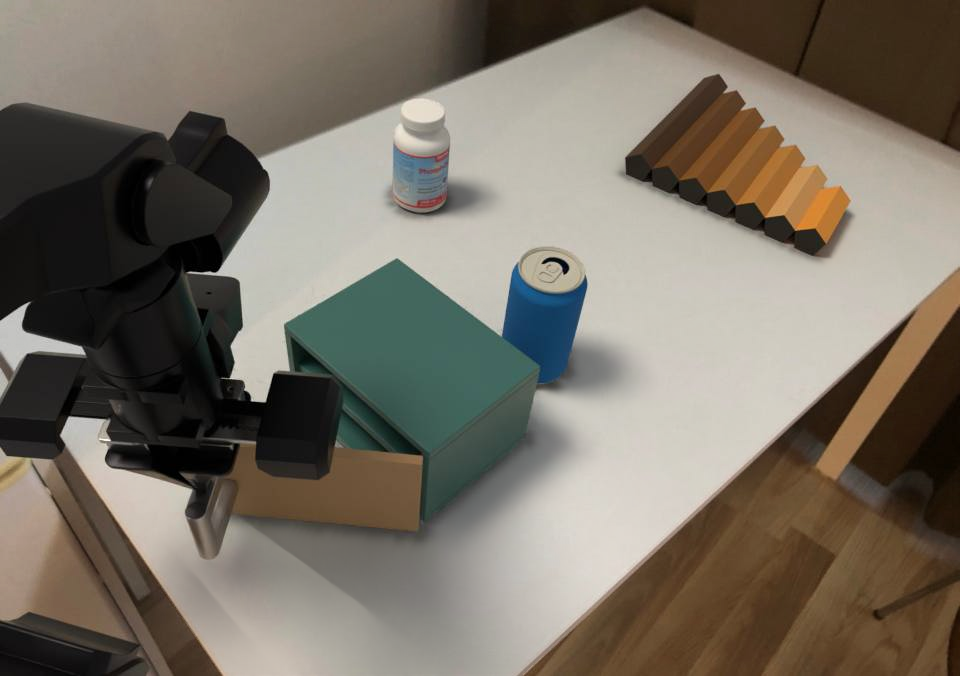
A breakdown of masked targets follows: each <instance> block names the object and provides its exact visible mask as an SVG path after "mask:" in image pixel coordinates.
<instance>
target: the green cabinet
mask: <svg viewBox="0 0 960 676" xmlns="http://www.w3.org/2000/svg"><path fill="white" fill-rule="evenodd" d="M283 329H284V338H285V346H286V353H287V360H288V369H289V371H293V372H305V373H317V374H330V375H334V376H335V377H336V378H337V379H338V381H339V382H340V383H341V385H342V390H343V400H344V401H343V406H342V411H341V417H340V422H339V427H338V432H337V437H336V442H338V443H339V444H340V445H341V446H342V448H350V449H360V450H370V451H380V452H390V453H399V454H409V455H419V456H423V468H422V483H421V499H420V515H419V520H421V521H422V522H423V523H426V522H428V520H430V519H431V518H433V516H435V515H436V514H437V513H438V512H439V511H441V510H443V508H444V507H445V506H446V505H447V504H449V503H450V502H451V501H453V500H454V499H455V498H456V497H458V496H459V494H460V493H462V492H463V491H464V490H465V489H467V488H468V487H469V486H470V485H471V484H473V482H475V481H476V480H477V479H478V478H480V477H481V476H482V475H483V474H484V473H486V472H487V471H488V470H489V469H491V467H493V466H494V465H495V464H496V463H498V462H499V461H500V460H501V459H502V458H503V457H504V456H505V455H507V454H508V453H509V452H510V451H512V450H513V449H515V447H516V446H517V445H519V444H520V443H521V442H522V441H524V439H526V435H527V431H528V426H529V421H530V418H531V412H532V407H533V404H534V400H535V399H534V398H535V394H536V389H537V385H538V384H537V381H538V377H539V372H540V365H538V364H537V363H536V362H534V361H533V360H532V359H530V358H529V357H528V356H526V355H525V354H524V353H522V352H521V351H520V350H518V349H517V348H516V347H514V346H513V345H512V344H510V343H509V342H508V341H506V340H505V339H504V338H502V335H500V334H499V333H497V332H496V331H494V330H493V329H492V328H490V327H489V326H488V325H486V324H485V323H484V322H483V321H481V320H480V319H479V318H478V317H476V316H475V315H473V314H472V313H471V312H469V311H468V310H467V309H465V308H464V307H463V306H461V305H460V304H459V303H458V302H456V301H455V300H453V299H452V298H451V297H450V296H448V295H447V294H446V293H444V292H443V291H442V290H440V289H439V288H438V287H437V286H435V285H434V284H432V283H431V282H429V281H428V280H427V279H426V278H424V277H423V276H422V275H420V274H419V273H417V272H416V271H415V270H414V269H413V268H411V267H410V266H408V265H407V264H406V263H404V262H403V261H402V260H401V259H399V257H396V258H394V259H393V260H391V261H389V262H387V263H386V264H384V265H383V266H381V267H379V268H377V269H376V270H374V271H371V272H370V273H369V274H367V275H365V276H364V277H362V278H360V279H359V280H357V281H355V282H353V283H352V284H350V285H348V286H346V287H345V288H342V289H341V290H339V291H338V292H336V293H335V294H333V295H331V296H329V297H327V298H326V299H324V300H322V301H321V302H319V303H317V304H316V305H315V306H313V307H311V308H309V309H307V310H306V311H303V312H302V313H299V315H297V316H295V317H293V318H291V319H290V320H288V321H287V322H285V323H283Z"/></svg>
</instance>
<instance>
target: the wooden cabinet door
mask: <svg viewBox="0 0 960 676" xmlns="http://www.w3.org/2000/svg"><path fill="white" fill-rule="evenodd" d="M255 452H256V445H255V444H242V443H241V444H240V448H239V451H238V455H237V458H236V462H235V466H234V469H233V471H232V472H231V474H229V475H228V476H225V477H213V478H212V479H211V480H210V483H209V487H208V490H207V491H201V490H200V491H197V490H192V489H191V492H190V496H189V498H188V500H187V503H186V506H185V509H184V517H185V519H186V522H187V524H188V528H189V530H190V533H191V536H192V538H193V541H194V544H195V547H196V550H197V552H198V555H199V557H200V558H201V559H203V560H204V561H211V560H213V559H215V558H216V557H218V556H219V554H220V552H221V548H222V545H223V542H224V539H225V535H226V533H227V529H228V526H229V522H230V519H231V516H232V514H235V515H236V514H237V515H245V516H255V517H265V518H277V519H286V520H287V519H288V520H295V521H296V520H297V521H307V522H318V523H326V524H327V523H328V524H336V525H337V524H338V525H347V526H358V527H368V528H379V529H388V530H399V531H407V532H409V531H410V532H418V531H419V527H420V518H419V515H420V499H421V483H422V468H423V456H419V455H409V454H399V453H390V452H380V451H370V450H360V449H350V448H345V447H339V446H335V448H334V453H333V458H332V463H331V469H330V473H328V474H327V475H325V476H324V477H323V478H321V479H320V480H307V479H294V478H281V477H273V476H271V475H269V474H267V473H265V472H263V471H261V470H259V469H258V468H257V464H256V461H255Z"/></svg>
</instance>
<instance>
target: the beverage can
mask: <svg viewBox="0 0 960 676" xmlns="http://www.w3.org/2000/svg"><path fill="white" fill-rule="evenodd" d="M588 285H589V284H588V278H587V275H586V268H585V265H584V263H583V262H582V260H581V259H580V258H579V257H578V256H577V255H576V254H574V253H573V252H571V251H569V250H567V249H565V248H561V247H559V246H558V247H557V246H551V245H542V246H536V247H533V248H530V249H528V250H527V251H525V252H524V253H523V254H522V255H521V257H520V258H519V261H518V262H517V263H516V264H515V265H514V267H513V268H512V271H511V276H510V282H509V287H508V295H507V301H506V307H505V314H504V318H503V319H504V320H503V324H502V325H503V326H502V332H501V337H502V338H504V339H505V340H506V341H508V342H509V343H510V344H512V345H513V346H514V347H516V348H517V349H518V350H520V351H521V352H522V353H524V354H525V355H526V356H528V357H529V358H530V359H532V360H533V361H534V362H536V363H537V364H538V365H540V372H539V377H538V381H537V385H543V384H544V385H545V384H548V383H552V382H554V381H556V380H558V379H559V378H560V377H562V375H564V373H565V372H566V370H567V368H568V364H569V361H570V357H571V353H572V349H573V345H574V341H575V337H576V334H577V330H578V326H579V322H580V319H581V314H582V310H583V306H584V302H585V299H586V295H587V291H588Z"/></svg>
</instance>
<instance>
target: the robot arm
mask: <svg viewBox="0 0 960 676" xmlns="http://www.w3.org/2000/svg"><path fill="white" fill-rule="evenodd" d="M270 191H271V179H270V175H269V172H268V171H267V169H265V168H264V167H263V165H262V163H261V161H260V160H259V159H258V158H257V156H256V155H255V154H254V153H253V152H252V151H251V150H250V149H249V148H248V147H247V146H246V145H245V144H244V143H242V142H240V141H239V140H237V139H236V138H235V137H233V136H232V135H230V134H229V133H228V128H227V123H226V119H225V118H223V117H220V116H215V115H212V114H206V113H201V112H198V111H193V110H188V111H187V113H186V115H184V116H183V118H182V119H180V121H179V122H178V124H177V126H176V128H175V130H174V131H173V133H172V135H171V136H170V137H169V138H168V139H167V136H166V135H165V133H163V132H160V131H156V130H150V129H146V128H142V127H137V126H133V125H129V124H124V123H120V122H116V121H111V120H106V119H102V118H97V117H93V116H88V115H83V114H81V113H75V112H71V111H67V110H62V109H57V108H53V107H49V106H44V105H41V104H35V103H31V102H25V101H24V102H15V103H12V104H9V105H7V106H5V107H4V108H2V109H0V322H1V321H3V320H4V319H6V318H7V317H8V316H9V315H11V314H12V313H14V312H15V311H18V309H20V308H21V307H23V306H25V305H26V304H27V306H25V307H26V308H25V310H24V316H23V319H22V322H21V329H22V331H23V332H25V333H26V334H31V335H33V336H38V337H42V338H46V339H50V340H54V341H58V342H61V343H65V344H70V345H73V346H76V347H81V348H82V350H83V352H84V354H82V353H80V354H79V353H68V352H57V351H55V352H54V351H45V350H37V351H32V352H27V353H26V354H25V355H24V356H23V357H22V358H21V359H20V360H19V362H18V363H17V366H16V367H15V369H14V371H13V373H12V375H11V377H10V379H9V380H8V382H7V384H6V386H5V388H4V390H3V392H2V393H1V396H0V449H1V451H2V452H3V453H4V455H5V456H6V457H12V458H23V459H24V458H25V459H39V460H49V461H50V460H51V461H53V460H54V459H56V458H58V457H59V456H60V455H62V454H63V452H64V449H65V447H66V443H65V441H64V439H63V438H62V436H61V435H62V433H63V430H64V429H65V426H66V424H67V423H68V420H69V418H81V419H95V420H104V421H103V422H102V425H101V427H100V430H99V432H98V434H97V439H98V441H99V442H100V443H101V444H105V445H106V446H107V450H106V453H105V455H104V462H105V464H106V465H107V467H109V468H110V469H114V470H122V471H126V472H130V473H133V474H138V475H141V476H145V477H149V478H152V479H157V480H159V481H163V482H167V483H169V484H173V485H175V486H178V487H183V488H185V489H189V490H191V491H192V490H197V491H200V490H201V491H207V490H208V487H209V483H210V480H211V479H212V478H213V477H225V476H228V475H229V474H231V472H232V471H233V469H234V466H235V462H236V458H237V455H238V451H239V448H240V444H241V443H242V444H255V445H256V452H255V461H256V464H257V468H258V469H259V470H261V471H263V472H265V473H267V474H269V475H271V476H273V477H281V478H294V479H307V480H320V479H321V478H323V477H324V476H325V475H327V474H328V473H330V469H331V463H332V458H333V453H334V448H335V447H336V442H337V440H336V437H337V432H338V427H339V422H340V417H341V411H342V406H343V401H344V400H343V390H342V385H341V383H340V382H339V381H338V379H337V378H336V377H335V376H334V375H330V374H317V373H305V372H293V371H290V370H279V369H278V370H277V371H275V372H273V373H272V377H271V381H270V384H269V387H268V391H267V395H266V399H265V401H257V400H256V401H254V400H252V395H251V393H250V392H249V391H248V390H245V389H246V384H245V383H246V382H245V381H244V380H243V379H237V378H236V379H235V378H232V373H233V371H234V367H235V364H236V361H235V357H234V353H233V350H232V344H233V343H234V341H235V339H236V337H237V336H238V334H239V332H241V331H242V330H243V328H244V318H243V306H242V294H241V293H242V292H241V282H240V280H239V279H237V278H236V277H233V276H227V275H215V274H216V273H218V272H219V271H220V269H221V268H222V266H223V265H224V264H225V262H226V261H227V259H228V257H229V256H230V254H231V253H232V251H233V250H234V248H235V247H236V246H237V244H238V242H239V241H240V239H241V237H242V236H243V235H244V233H245V232H246V230H247V229H248V227H249V226H250V225H251V222H252V221H253V220H254V218H255V217H256V215H257V214H258V212H259V210H260V209H261V208H262V206H263V205H264V203H265V201H266V200H267V199H268V195H269V194H270ZM203 273H204V274H203ZM205 273H212V274H205ZM141 649H142V644H140V643H136V642H133V641H130V640H126V639H123V638H121V637H120V638H119V637H118V636H117V637H116V636H112V635H109V634H106V633H103V632H99V631H97V630H93V629H89V628H86V627H83V626H79V625H77V624H76V625H75V624H72V623H69V622H66V621H62V620H59V619H56V618H52V617H49V616H45V615H42V614H39V613H35V612H32V611H27V612H26V613H24V614H22V615H20V616H19V617H17V618H14V619H10V620H6V619H5V620H4V619H0V676H147V675H148V674H149V672H150V671H151V665H150V662H149V659H147V658H146V657H143V656H139V655H138V654H139V653H140V651H141Z"/></svg>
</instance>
